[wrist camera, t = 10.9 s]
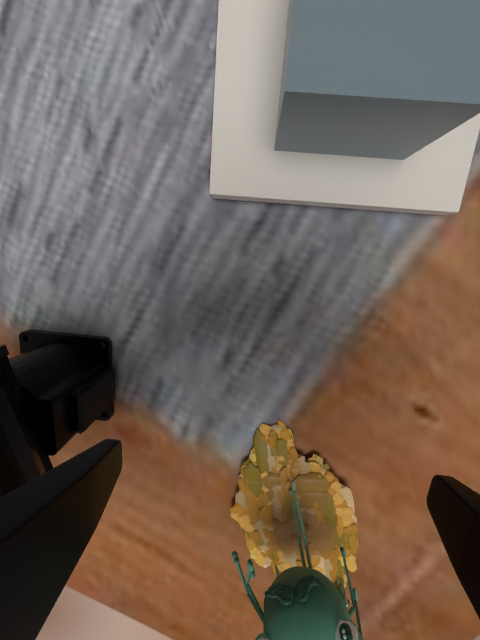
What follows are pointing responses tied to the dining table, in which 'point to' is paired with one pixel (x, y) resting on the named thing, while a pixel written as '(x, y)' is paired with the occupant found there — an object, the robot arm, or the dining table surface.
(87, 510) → the robot arm
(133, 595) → the dining table surface
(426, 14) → the slate grey cube
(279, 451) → the green and yellow piece
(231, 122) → the base plate
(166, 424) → the dining table surface
